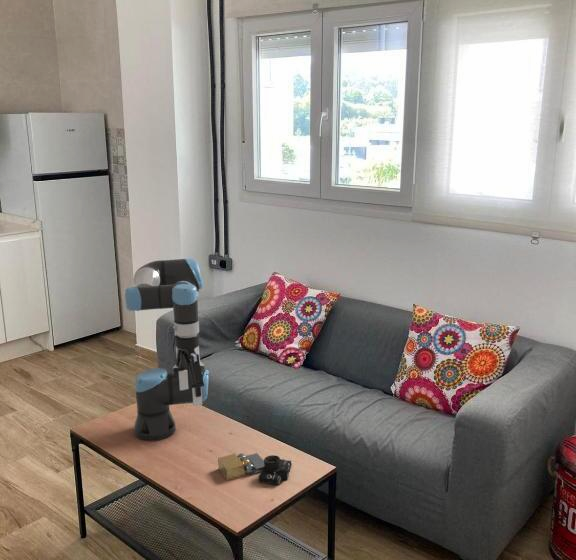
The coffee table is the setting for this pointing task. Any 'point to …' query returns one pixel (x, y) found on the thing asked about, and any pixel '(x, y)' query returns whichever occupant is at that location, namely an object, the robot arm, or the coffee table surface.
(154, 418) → the robot arm
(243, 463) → the gold knuckled block
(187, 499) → the coffee table surface
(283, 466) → the film camera
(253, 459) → the steel hinge leaf
